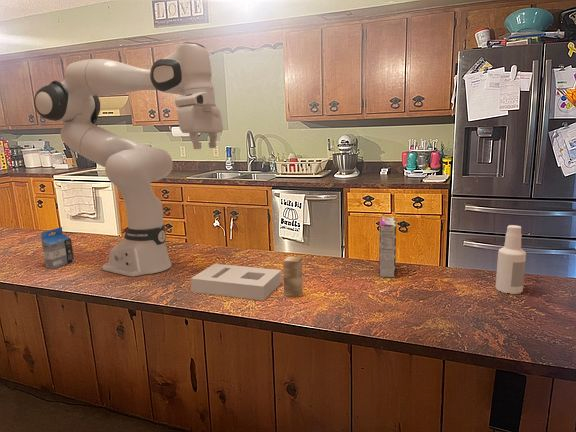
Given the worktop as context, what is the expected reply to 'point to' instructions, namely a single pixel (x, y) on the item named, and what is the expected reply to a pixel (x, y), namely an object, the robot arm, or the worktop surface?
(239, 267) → the socket board
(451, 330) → the worktop surface
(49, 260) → the label tape box
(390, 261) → the candy bar box
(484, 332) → the worktop surface
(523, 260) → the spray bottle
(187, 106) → the robot arm
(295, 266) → the square peg
